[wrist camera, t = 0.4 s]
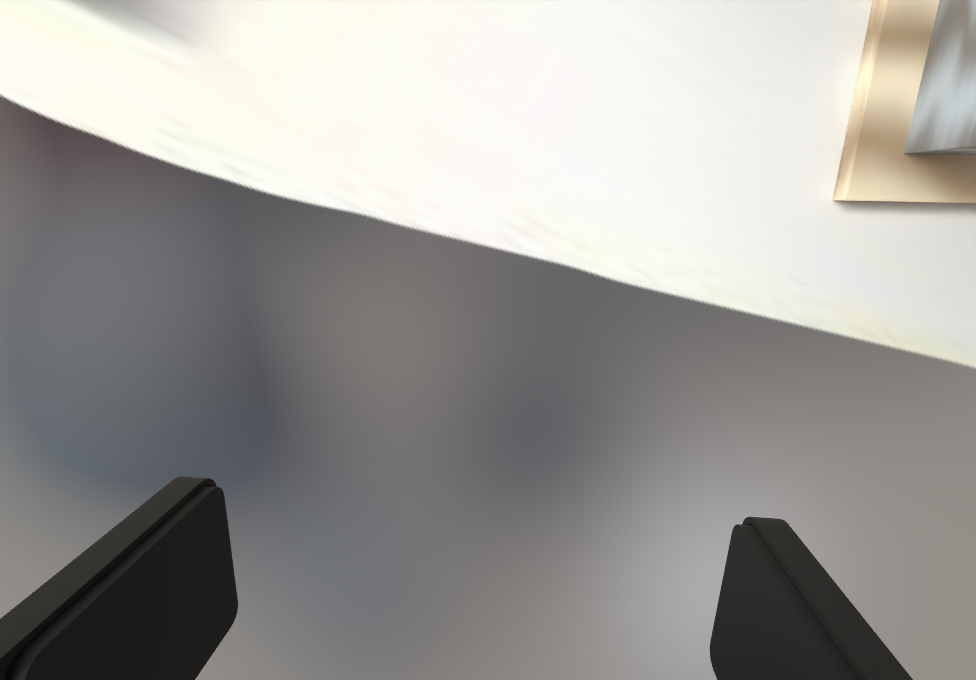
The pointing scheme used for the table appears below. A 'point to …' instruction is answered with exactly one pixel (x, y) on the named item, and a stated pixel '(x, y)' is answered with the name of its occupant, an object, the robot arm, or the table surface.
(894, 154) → the socket board
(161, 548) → the robot arm
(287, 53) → the table surface
